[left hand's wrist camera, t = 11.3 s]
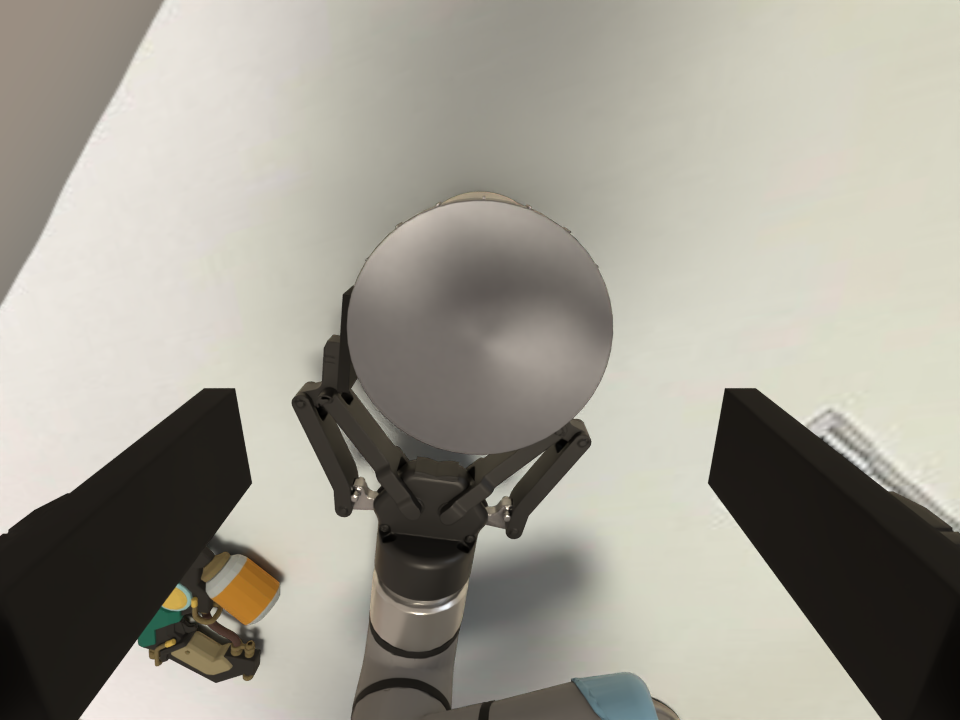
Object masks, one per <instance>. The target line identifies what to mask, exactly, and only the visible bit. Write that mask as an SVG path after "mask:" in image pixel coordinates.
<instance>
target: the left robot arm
mask: <svg viewBox="0 0 960 720" xmlns="http://www.w3.org/2000/svg"><path fill="white" fill-rule="evenodd" d="M251 484H252V480H251V475H250V469H249V464H248V458H247V452H246V447H245V441H244V436H243V430H242V425H241V419H240V413H239V408H238V402H237V397H236V391H235V388H204V389H203V390H201V391H200V392H199V393H198V394H196V395H195V396H194V397H192V398H191V399H190V400H189V401H187V402H186V403H185V404H183V405H182V406H181V407H180V408H178V409H177V410H176V411H175V412H173V413H172V414H171V415H169V416H168V417H167V418H166V419H164V420H163V421H162V422H160V423H159V424H158V425H157V426H155V427H154V428H153V429H151V430H150V431H149V432H148V433H146V434H145V435H144V436H142V437H141V438H140V439H139V440H137V441H136V442H135V443H133V444H132V445H131V446H130V447H128V448H127V449H126V450H125V451H123V452H122V453H121V454H119V455H118V456H117V457H116V458H114V459H113V460H112V461H110V462H109V463H108V464H107V465H105V466H104V467H103V468H101V469H100V470H99V471H98V472H96V473H95V474H94V475H92V476H91V477H90V478H89V479H87V480H86V481H85V482H84V483H82V484H81V485H80V486H78V487H77V488H76V489H75V490H73V491H72V492H71V493H67V494H65V495H63V496H61V497H59V498H57V499H55V500H53V501H51V502H49V503H47V504H45V505H43V506H41V507H39V508H37V509H36V510H34V511H33V512H31V513H30V514H29V515H27V516H26V517H25V518H23V519H22V520H21V521H19V522H18V523H17V524H15V525H14V526H13V527H11V528H10V529H9V530H8V533H7V534H2V535H1V536H0V720H78V719H79V718H80V717H81V715H82V714H83V712H84V711H85V710H86V708H87V707H88V706H89V704H90V703H91V702H92V700H93V699H94V698H95V696H96V695H97V693H98V692H99V691H100V689H101V688H102V687H103V685H104V684H105V683H106V681H107V680H108V678H109V677H110V676H111V674H112V673H113V672H114V670H115V669H116V668H117V666H118V665H119V664H120V662H121V661H122V659H123V658H124V657H125V655H126V654H127V653H128V651H129V650H130V649H131V647H132V646H133V644H134V643H135V642H136V640H137V639H138V638H139V636H140V635H141V634H142V632H143V631H144V630H145V628H146V627H147V625H148V624H149V623H150V621H151V620H152V619H153V617H154V616H155V615H156V613H157V612H158V610H159V609H160V608H161V606H162V605H163V604H164V602H165V601H166V600H167V598H168V597H169V596H170V594H171V593H172V591H173V590H174V589H175V587H176V586H177V585H178V583H179V582H180V581H181V579H182V578H183V576H184V575H185V574H186V572H187V571H188V570H189V568H190V567H191V566H192V564H193V563H194V562H195V560H196V559H197V557H198V556H199V555H200V553H201V552H202V551H203V549H204V548H205V547H206V545H207V544H208V542H209V541H210V540H211V538H212V537H213V536H214V534H215V533H216V532H217V530H218V529H219V528H220V526H221V525H222V523H223V522H224V521H225V519H226V518H227V517H228V515H229V514H230V513H231V511H232V510H233V508H234V507H235V506H236V504H237V503H238V502H239V500H240V499H241V498H242V496H243V495H244V493H245V492H246V491H247V489H248V488H249V487H250V485H251ZM708 484H709V485H710V487H711V488H712V489H713V491H714V492H715V493H716V495H717V496H718V498H719V499H720V500H721V502H722V503H723V504H724V506H725V507H726V508H727V510H728V511H729V513H730V514H731V515H732V517H733V518H734V519H735V521H736V522H737V523H738V525H739V526H740V528H741V529H742V530H743V532H744V533H745V534H746V536H747V537H748V538H749V540H750V541H751V542H752V544H753V545H754V547H755V548H756V549H757V551H758V552H759V553H760V555H761V556H762V557H763V559H764V560H765V562H766V563H767V564H768V566H769V567H770V568H771V570H772V571H773V572H774V574H775V575H776V576H777V578H778V579H779V581H780V582H781V583H782V585H783V586H784V587H785V589H786V590H787V591H788V593H789V594H790V596H791V597H792V598H793V600H794V601H795V602H796V604H797V605H798V606H799V608H800V609H801V610H802V612H803V613H804V615H805V616H806V617H807V619H808V620H809V621H810V623H811V624H812V625H813V627H814V628H815V630H816V631H817V632H818V634H819V635H820V636H821V638H822V639H823V640H824V642H825V643H826V644H827V646H828V647H829V649H830V650H831V651H832V653H833V654H834V655H835V657H836V658H837V659H838V661H839V662H840V664H841V665H842V666H843V668H844V669H845V670H846V672H847V673H848V674H849V676H850V677H851V678H852V680H853V681H854V683H855V684H856V685H857V687H858V688H859V689H860V691H861V692H862V693H863V695H864V696H865V698H866V699H867V700H868V702H869V703H870V704H871V706H872V707H873V708H874V710H875V711H876V712H877V714H878V715H879V717H880V718H881V719H882V720H960V533H959V532H953V530H952V527H951V526H949V525H948V524H947V523H945V522H944V521H943V520H941V519H940V518H939V517H937V516H936V515H935V514H933V513H932V512H931V511H929V510H928V509H927V508H925V507H923V506H921V505H919V504H917V503H915V502H913V501H911V500H909V499H907V498H905V497H903V496H901V495H899V494H897V493H895V492H893V491H887V490H885V489H884V488H883V487H882V486H880V485H879V484H878V483H876V482H875V481H874V480H873V479H871V478H870V477H869V476H868V475H866V474H865V473H864V472H862V471H861V470H860V469H859V468H857V467H856V466H855V465H853V464H852V463H851V462H850V461H848V460H847V459H846V458H844V457H843V456H842V455H841V454H839V453H838V452H837V451H835V450H834V449H833V448H832V447H830V446H829V445H828V444H827V443H825V442H824V441H823V440H821V439H820V438H819V437H818V436H816V435H815V434H814V433H812V432H811V431H810V430H809V429H807V428H806V427H805V426H803V425H802V424H801V423H800V422H798V421H797V420H796V419H794V418H793V417H792V416H791V415H789V414H788V413H787V412H785V411H784V410H783V409H782V408H780V407H779V406H778V405H777V404H775V403H774V402H773V401H771V400H770V399H769V398H768V397H766V396H765V395H764V394H762V393H761V392H760V391H759V390H757V389H756V388H725V391H724V397H723V402H722V408H721V413H720V419H719V425H718V430H717V436H716V441H715V447H714V452H713V458H712V464H711V469H710V475H709V480H708Z"/></svg>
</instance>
